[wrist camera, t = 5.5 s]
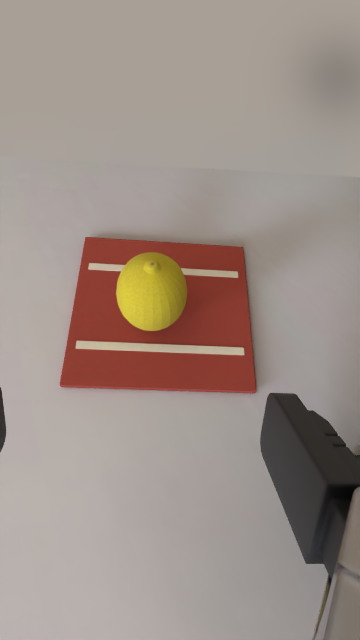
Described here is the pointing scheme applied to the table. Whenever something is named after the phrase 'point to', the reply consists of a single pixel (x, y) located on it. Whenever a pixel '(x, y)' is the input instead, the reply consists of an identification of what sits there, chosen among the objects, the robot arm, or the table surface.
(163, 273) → the lemon
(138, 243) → the pot holder
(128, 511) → the table surface
